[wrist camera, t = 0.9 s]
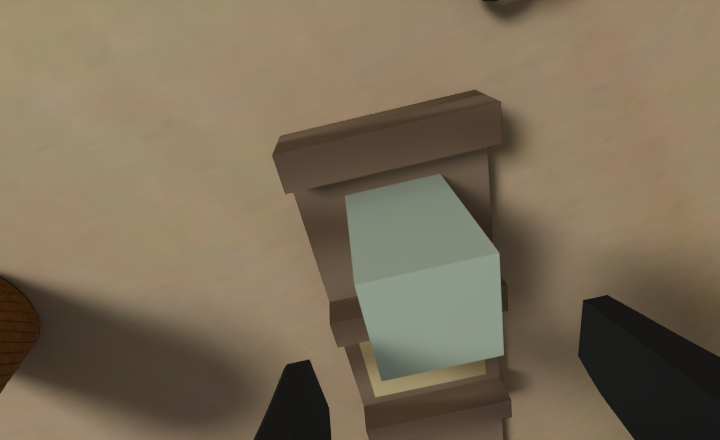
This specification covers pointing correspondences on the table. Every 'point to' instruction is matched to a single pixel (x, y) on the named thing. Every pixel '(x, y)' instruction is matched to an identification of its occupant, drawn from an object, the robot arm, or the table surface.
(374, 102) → the table surface
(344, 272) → the notch rail
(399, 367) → the sage block
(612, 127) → the table surface
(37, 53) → the table surface
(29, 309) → the disposable coffee cup
